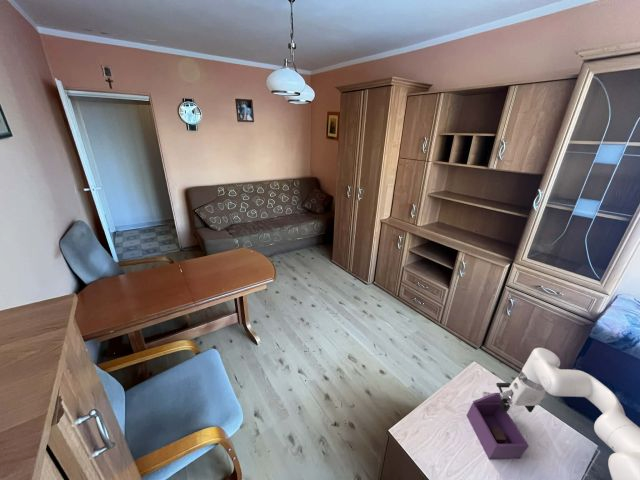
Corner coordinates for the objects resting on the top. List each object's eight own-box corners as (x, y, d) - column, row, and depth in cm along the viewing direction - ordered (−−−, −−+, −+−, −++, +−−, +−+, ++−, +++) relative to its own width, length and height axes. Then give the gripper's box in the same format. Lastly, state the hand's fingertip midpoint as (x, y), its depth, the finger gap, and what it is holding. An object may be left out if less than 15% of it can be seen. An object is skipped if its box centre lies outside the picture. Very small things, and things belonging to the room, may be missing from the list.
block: (502, 445, 116) (506, 439, 114) (493, 445, 115) (496, 439, 114) (496, 434, 120) (499, 428, 118) (487, 434, 119) (490, 428, 117)
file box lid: (527, 394, 109) (521, 381, 112) (495, 394, 108) (490, 381, 112) (501, 403, 123) (496, 391, 126) (473, 403, 123) (469, 391, 126)
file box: (519, 458, 112) (529, 445, 108) (488, 459, 111) (496, 446, 107) (493, 415, 128) (500, 402, 124) (466, 415, 127) (472, 402, 123)
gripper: (517, 389, 89) (499, 418, 97) (565, 388, 90) (544, 418, 98) (502, 369, 96) (487, 398, 104) (547, 369, 97) (529, 398, 105)
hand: (515, 408), depth 101 cm, fingers open, 9 cm apart
